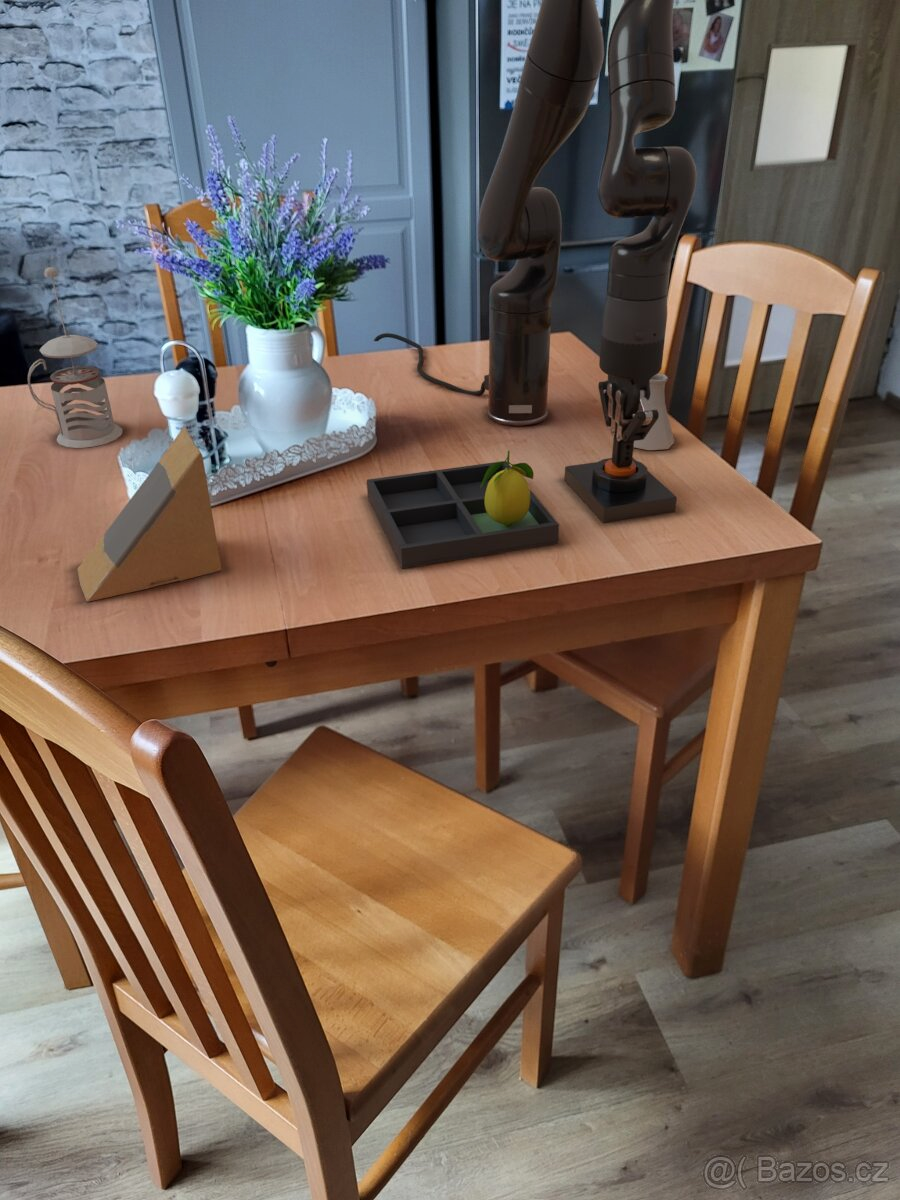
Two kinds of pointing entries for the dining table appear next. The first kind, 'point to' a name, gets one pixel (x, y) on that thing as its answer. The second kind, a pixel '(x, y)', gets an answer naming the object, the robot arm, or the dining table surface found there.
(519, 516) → the lemon
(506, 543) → the tray
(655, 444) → the flask
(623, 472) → the button
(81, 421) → the french press
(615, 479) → the control box
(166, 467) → the sandwich container
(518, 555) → the dining table surface
